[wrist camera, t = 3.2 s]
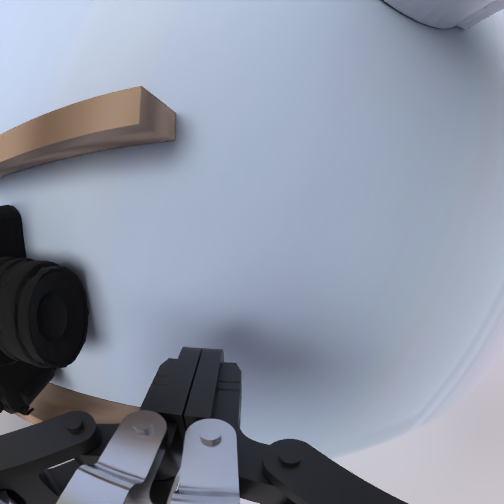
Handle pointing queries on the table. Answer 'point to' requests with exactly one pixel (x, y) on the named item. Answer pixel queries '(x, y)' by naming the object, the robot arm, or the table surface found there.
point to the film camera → (34, 318)
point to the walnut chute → (72, 144)
